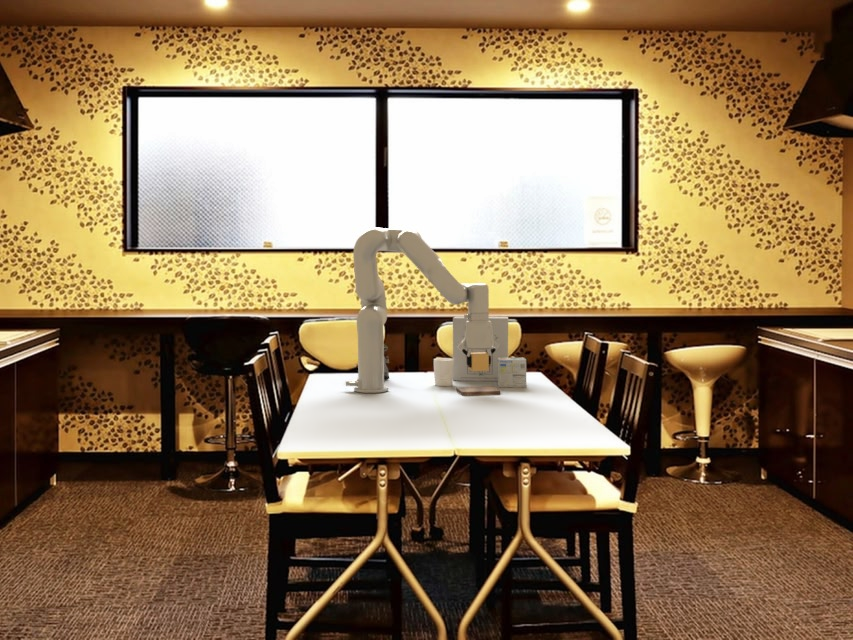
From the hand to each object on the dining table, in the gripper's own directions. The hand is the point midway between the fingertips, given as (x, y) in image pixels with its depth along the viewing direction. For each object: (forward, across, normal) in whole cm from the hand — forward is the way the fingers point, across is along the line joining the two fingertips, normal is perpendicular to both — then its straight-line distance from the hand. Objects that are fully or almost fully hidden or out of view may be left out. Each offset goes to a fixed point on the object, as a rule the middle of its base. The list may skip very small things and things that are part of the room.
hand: (478, 366), depth 336 cm
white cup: (+10, -9, +20) cm, 24 cm away
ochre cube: (+1, 0, 0) cm, 1 cm away
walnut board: (+10, 0, 0) cm, 10 cm away
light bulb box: (+10, +16, +13) cm, 22 cm away
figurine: (+9, -34, +38) cm, 52 cm away
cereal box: (+10, +8, +31) cm, 33 cm away
